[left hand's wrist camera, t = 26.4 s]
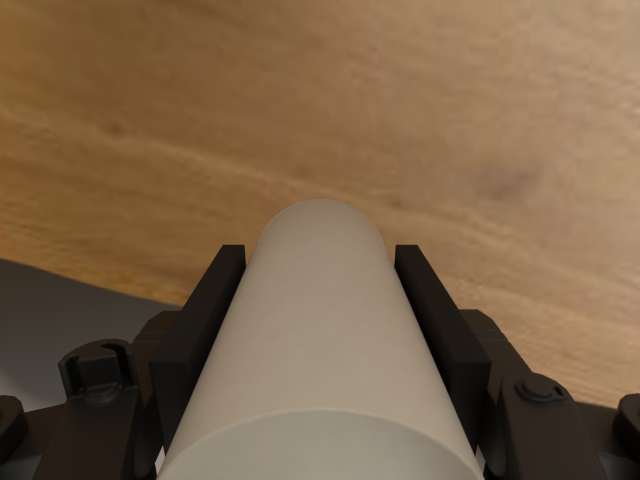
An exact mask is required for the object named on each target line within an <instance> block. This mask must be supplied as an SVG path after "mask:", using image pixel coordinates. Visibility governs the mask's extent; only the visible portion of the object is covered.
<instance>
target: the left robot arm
mask: <svg viewBox="0 0 640 480" xmlns="http://www.w3.org/2000/svg"><path fill="white" fill-rule="evenodd" d="M394 268H395V270H396V272H397V275H398V277H399V280H400V282H401V284H402V287H403V289H404V291H405V294H406V296H407V298H408V301H409V303H410V305H411V308H412V310H413V312H414V315H415V317H416V320H417V322H418V324H419V327H420V329H421V331H422V334H423V336H424V338H425V341H426V343H427V345H428V348H429V350H430V352H431V355H432V357H433V359H434V362H435V364H436V367H437V369H438V371H439V374H440V376H441V378H442V381H443V383H444V385H445V388H446V390H447V392H448V395H449V397H450V399H451V402H452V404H453V406H454V409H455V411H456V414H457V416H458V418H459V421H460V423H461V425H462V428H463V430H464V432H465V435H466V437H467V439H468V442H469V444H470V446H471V449H472V451H473V453H474V456H475V455H476V449H477V444H478V445H479V448H480V450H481V452H482V454H483V457H484V459H485V461H486V462H485V467H484V472H483V477H484V479H485V480H640V394H638V393H636V394H629V395H625V396H624V397H623V398H622V399H620V402H619V405H618V408H617V411H614V410H610V409H605V408H601V407H596V406H591V405H587V404H583V403H579V402H576V401H574V400H573V398H572V397H571V395H570V394H569V392H568V391H567V390H566V389H565V388H564V387H563V386H561V385H560V384H559V383H557V382H556V381H554V380H552V379H550V378H548V377H546V376H544V375H541V374H538V373H534V372H532V371H531V370H530V368H529V367H528V366H527V364H526V363H525V362H524V360H523V359H522V358H521V356H520V355H519V354H518V352H517V351H516V350H515V349H514V347H513V346H512V345H511V343H510V342H508V339H507V338H506V337H505V335H504V334H503V333H501V330H500V329H499V328H498V326H497V325H496V324H495V322H494V321H493V320H492V319H491V318H490V317H488V316H487V315H485V314H484V313H482V312H481V311H479V310H478V309H458V308H457V306H456V305H455V303H454V302H453V300H452V298H451V297H450V295H449V294H448V292H447V291H446V289H445V288H444V286H443V284H442V283H441V281H440V280H439V278H438V277H437V275H436V273H435V272H434V270H433V269H432V267H431V266H430V264H429V263H428V261H427V259H426V258H425V256H424V255H423V253H422V252H421V250H420V249H419V247H418V245H396V250H395V264H394ZM245 269H246V260H245V246H244V245H223V246H222V247H221V249H220V251H219V252H218V254H217V255H216V257H215V258H214V260H213V261H212V263H211V265H210V266H209V268H208V269H207V271H206V272H205V274H204V276H203V277H202V279H201V280H200V282H199V283H198V285H197V286H196V288H195V290H194V291H193V293H192V294H191V296H190V297H189V299H188V300H187V302H186V304H185V305H184V307H183V308H182V310H181V311H162V312H160V313H159V314H157V315H156V316H154V317H153V318H151V319H150V320H148V322H147V323H146V324H145V326H144V327H143V328H142V330H141V331H140V334H138V335H137V336H136V338H135V339H134V340H133V343H131V344H129V343H128V342H127V341H124V340H119V339H103V340H99V341H95V342H90V343H88V344H85V345H83V346H80V347H78V348H76V349H74V350H73V351H71V352H70V353H68V354H67V355H65V356H64V358H63V359H62V360H61V361H60V362H59V363H58V367H59V370H60V374H61V377H62V381H63V385H64V388H65V392H66V396H67V401H66V403H64V404H60V405H57V406H52V407H48V408H43V409H39V410H34V411H29V412H25V413H24V410H23V406H22V404H21V401H20V400H18V399H17V398H16V397H14V396H7V395H1V396H0V480H156V478H157V473H156V467H155V462H156V459H157V457H158V455H159V452H160V450H161V448H162V446H163V448H164V453H165V457H166V454H167V452H168V450H169V447H170V445H171V443H172V440H173V438H174V436H175V433H176V431H177V429H178V426H179V424H180V422H181V419H182V417H183V415H184V412H185V410H186V408H187V405H188V403H189V400H190V398H191V396H192V393H193V391H194V389H195V386H196V384H197V382H198V379H199V377H200V375H201V372H202V370H203V368H204V365H205V363H206V361H207V358H208V356H209V354H210V351H211V349H212V347H213V344H214V342H215V339H216V337H217V335H218V332H219V330H220V328H221V325H222V323H223V321H224V318H225V316H226V314H227V311H228V309H229V307H230V304H231V302H232V300H233V297H234V295H235V293H236V290H237V288H238V286H239V283H240V281H241V278H242V276H243V274H244V271H245Z"/></svg>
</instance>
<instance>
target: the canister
mask: <svg viewBox="0 0 640 480" xmlns="http://www.w3.org/2000/svg"><path fill="white" fill-rule="evenodd" d="M156 480H485V479H484V477H483V475H482V472H481V470H480V468H479V465H478V463H477V461H476V458H475V456H474V453H473V451H472V449H471V446H470V444H469V442H468V439H467V437H466V435H465V432H464V430H463V428H462V425H461V423H460V421H459V418H458V416H457V414H456V411H455V409H454V406H453V404H452V402H451V399H450V397H449V395H448V392H447V390H446V388H445V385H444V383H443V381H442V378H441V376H440V374H439V371H438V369H437V367H436V364H435V362H434V359H433V357H432V355H431V352H430V350H429V348H428V345H427V343H426V341H425V338H424V336H423V334H422V331H421V329H420V327H419V324H418V322H417V320H416V317H415V315H414V312H413V310H412V308H411V305H410V303H409V301H408V298H407V296H406V294H405V291H404V289H403V287H402V284H401V282H400V280H399V277H398V275H397V272H396V270H395V268H394V265H393V263H392V261H391V258H390V256H389V254H388V251H387V249H386V247H385V244H384V242H383V240H382V237H381V235H380V233H379V231H378V230H377V228H376V227H375V225H374V224H373V223H372V222H371V220H370V219H369V218H368V217H367V216H365V215H364V214H363V213H362V212H360V211H359V210H357V209H356V208H354V207H352V206H350V205H348V204H346V203H342V202H339V201H335V200H330V199H310V200H305V201H301V202H298V203H295V204H292V205H290V206H288V207H286V208H285V209H283V210H282V211H280V212H279V213H277V214H276V215H275V216H274V217H273V218H272V219H271V220H270V221H269V222H268V223H267V225H266V226H265V227H264V229H263V231H262V232H261V234H260V236H259V239H258V241H257V243H256V246H255V248H254V250H253V253H252V255H251V257H250V260H249V262H248V264H247V267H246V269H245V271H244V274H243V276H242V278H241V281H240V283H239V286H238V288H237V290H236V293H235V295H234V297H233V300H232V302H231V304H230V307H229V309H228V311H227V314H226V316H225V318H224V321H223V323H222V325H221V328H220V330H219V332H218V335H217V337H216V339H215V342H214V344H213V347H212V349H211V351H210V354H209V356H208V358H207V361H206V363H205V365H204V368H203V370H202V372H201V375H200V377H199V379H198V382H197V384H196V386H195V389H194V391H193V393H192V396H191V398H190V400H189V403H188V405H187V408H186V410H185V412H184V415H183V417H182V419H181V422H180V424H179V426H178V429H177V431H176V433H175V436H174V438H173V440H172V443H171V445H170V447H169V450H168V452H167V454H166V457H165V459H164V462H163V464H162V466H161V469H160V471H159V473H158V476H157V478H156Z"/></svg>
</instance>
